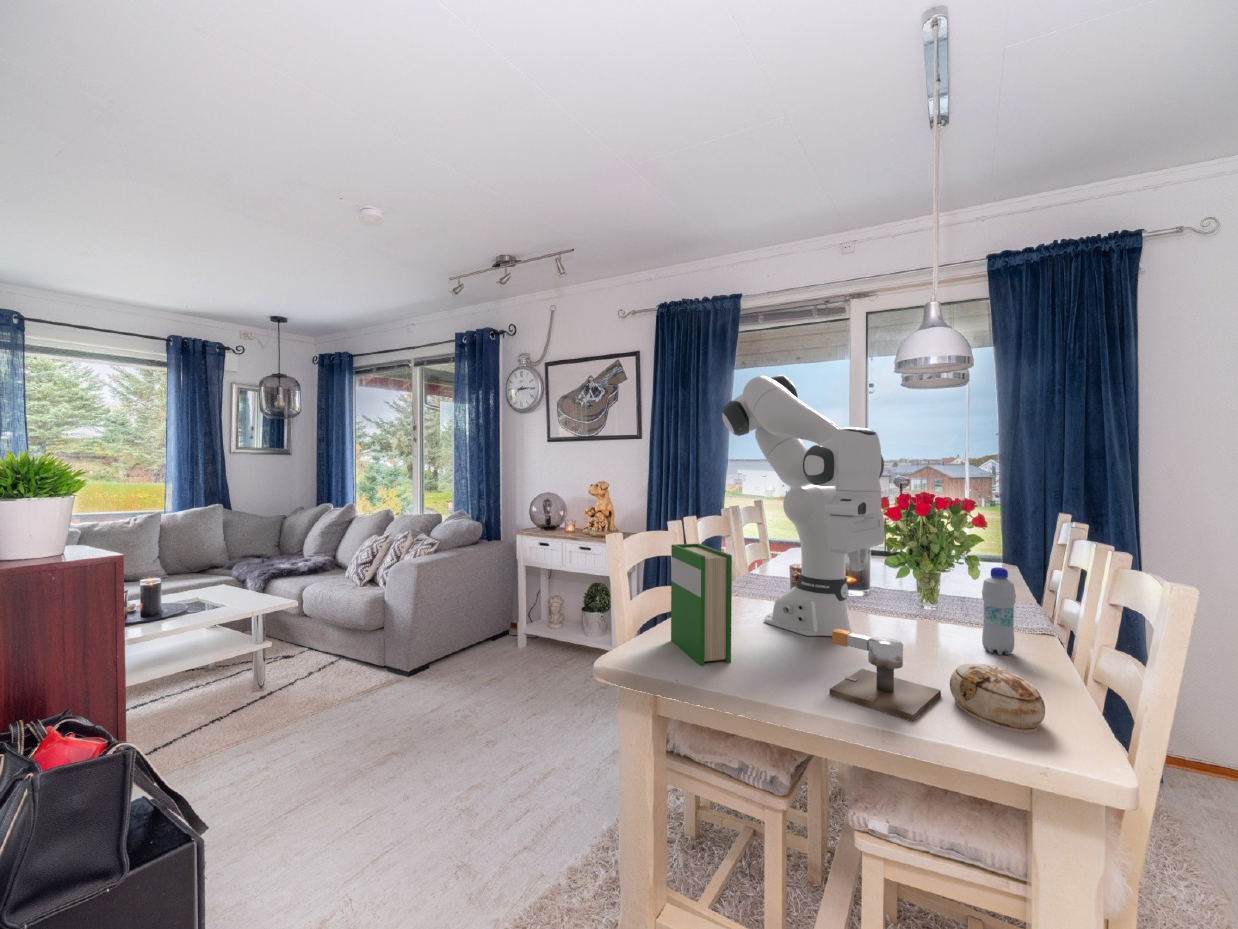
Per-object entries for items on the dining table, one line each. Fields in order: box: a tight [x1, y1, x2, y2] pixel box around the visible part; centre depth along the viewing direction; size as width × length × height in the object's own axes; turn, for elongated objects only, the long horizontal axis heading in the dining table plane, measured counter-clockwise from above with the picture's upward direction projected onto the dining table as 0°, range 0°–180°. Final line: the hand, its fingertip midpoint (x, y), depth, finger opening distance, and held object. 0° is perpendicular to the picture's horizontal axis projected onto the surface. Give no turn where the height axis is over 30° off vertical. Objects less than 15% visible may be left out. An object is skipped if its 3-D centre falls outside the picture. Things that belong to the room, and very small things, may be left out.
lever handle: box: [831, 629, 904, 670], centre depth 110 cm, size 13×6×4 cm, turn 44°
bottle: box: [981, 566, 1017, 656], centre depth 132 cm, size 7×7×20 cm
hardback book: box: [670, 543, 733, 667], centre depth 132 cm, size 18×7×24 cm, turn 16°
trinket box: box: [949, 663, 1046, 733], centre depth 100 cm, size 13×15×8 cm
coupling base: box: [829, 666, 942, 722], centre depth 107 cm, size 15×15×6 cm
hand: (857, 570), depth 117 cm, fingers closed
